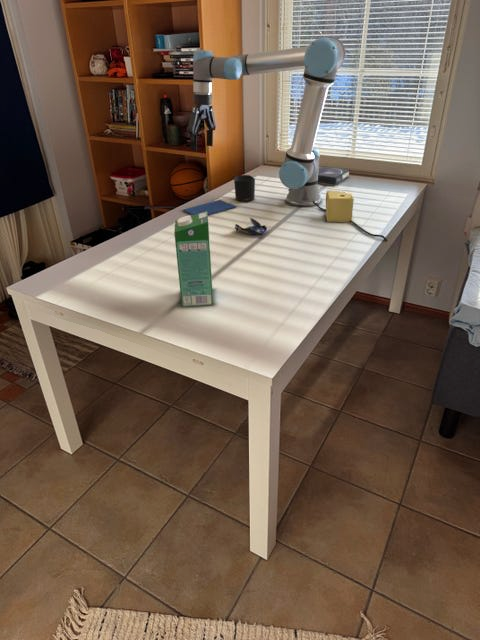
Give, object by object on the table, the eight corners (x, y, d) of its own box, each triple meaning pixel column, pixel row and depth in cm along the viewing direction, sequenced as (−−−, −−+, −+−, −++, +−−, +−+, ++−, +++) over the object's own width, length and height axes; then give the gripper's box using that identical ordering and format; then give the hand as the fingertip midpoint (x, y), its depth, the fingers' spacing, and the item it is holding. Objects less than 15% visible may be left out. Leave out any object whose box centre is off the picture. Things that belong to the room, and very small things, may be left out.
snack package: (249, 225, 189) (229, 232, 182) (251, 210, 185) (231, 217, 178) (272, 237, 183) (252, 245, 176) (274, 222, 179) (254, 230, 172)
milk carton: (182, 291, 142) (174, 212, 129) (212, 290, 143) (207, 210, 130) (181, 306, 135) (173, 223, 121) (213, 304, 135) (208, 222, 122)
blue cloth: (235, 207, 208) (235, 206, 207) (198, 218, 197) (198, 216, 197) (219, 201, 216) (219, 199, 215) (183, 210, 205) (183, 209, 205)
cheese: (349, 213, 197) (351, 190, 192) (352, 222, 188) (354, 198, 183) (324, 213, 198) (326, 190, 193) (325, 222, 189) (327, 198, 184)
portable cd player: (336, 185, 232) (336, 177, 230) (304, 181, 240) (305, 173, 238) (348, 177, 243) (349, 169, 241) (318, 173, 251) (319, 166, 249)
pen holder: (231, 201, 215) (231, 179, 209) (238, 195, 222) (238, 174, 217) (251, 203, 212) (251, 181, 206) (257, 197, 219) (257, 175, 214)
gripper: (209, 91, 203) (208, 143, 213) (178, 94, 183) (178, 151, 194) (224, 93, 200) (223, 145, 211) (194, 95, 180) (194, 153, 191)
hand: (201, 148), depth 202 cm, fingers open, 13 cm apart
